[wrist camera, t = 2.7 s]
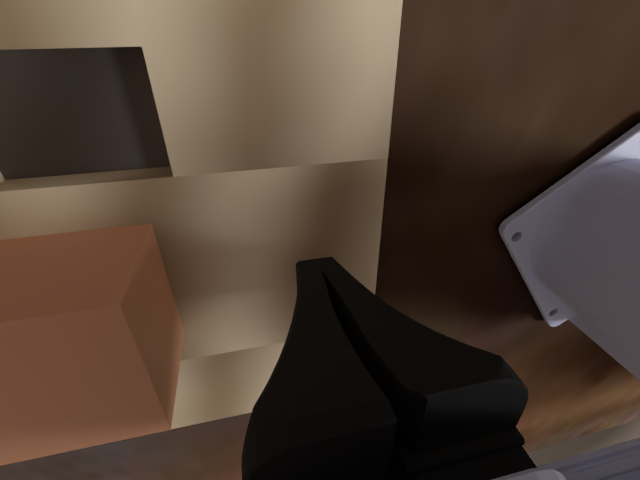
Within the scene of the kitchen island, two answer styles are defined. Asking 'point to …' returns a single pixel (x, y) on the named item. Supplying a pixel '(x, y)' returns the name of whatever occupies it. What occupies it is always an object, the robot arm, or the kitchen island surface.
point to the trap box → (205, 154)
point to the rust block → (85, 341)
